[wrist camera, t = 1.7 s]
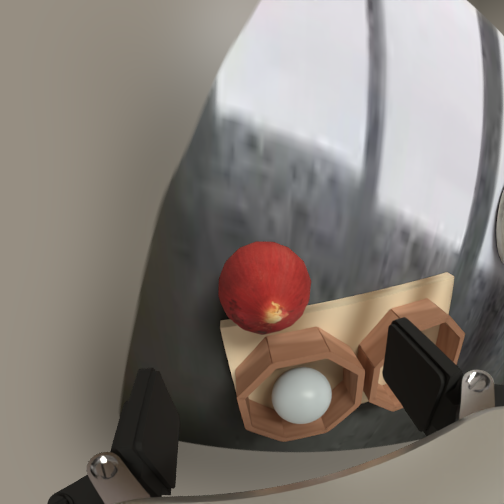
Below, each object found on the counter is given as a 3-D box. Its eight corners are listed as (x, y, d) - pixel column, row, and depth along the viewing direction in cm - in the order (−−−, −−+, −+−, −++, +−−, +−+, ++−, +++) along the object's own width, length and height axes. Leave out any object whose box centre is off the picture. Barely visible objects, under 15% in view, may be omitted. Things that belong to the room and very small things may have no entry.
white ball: (322, 349, 24) (340, 388, 19) (322, 389, 25) (337, 426, 20) (264, 361, 23) (273, 403, 19) (271, 400, 25) (278, 440, 20)
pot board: (447, 272, 24) (477, 291, 19) (428, 371, 28) (447, 395, 23) (220, 320, 23) (219, 355, 19) (245, 420, 27) (248, 454, 23)
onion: (277, 310, 23) (299, 375, 16) (209, 288, 22) (202, 350, 15) (308, 245, 22) (347, 289, 14) (236, 218, 21) (241, 251, 13)
